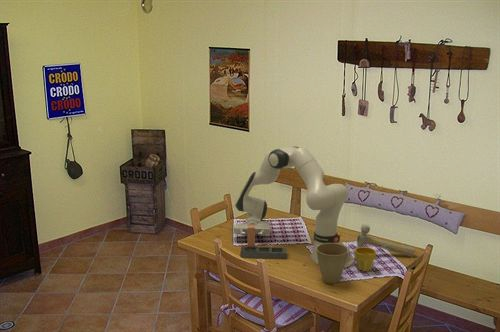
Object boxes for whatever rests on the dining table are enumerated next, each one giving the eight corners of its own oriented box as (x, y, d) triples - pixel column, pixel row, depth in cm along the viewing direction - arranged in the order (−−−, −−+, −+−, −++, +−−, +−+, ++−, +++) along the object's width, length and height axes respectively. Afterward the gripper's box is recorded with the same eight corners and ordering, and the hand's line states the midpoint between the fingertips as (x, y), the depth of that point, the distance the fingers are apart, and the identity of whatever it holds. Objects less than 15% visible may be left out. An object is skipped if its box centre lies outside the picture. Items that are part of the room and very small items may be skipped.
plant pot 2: (361, 262, 279) (362, 244, 276) (378, 269, 272) (380, 251, 269) (349, 268, 272) (350, 250, 270) (366, 275, 265) (368, 256, 262)
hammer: (417, 237, 287) (361, 223, 288) (418, 241, 283) (362, 226, 283) (407, 264, 291) (353, 249, 292) (409, 267, 287) (354, 253, 287)
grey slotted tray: (286, 252, 290) (286, 247, 289) (286, 258, 282) (286, 253, 282) (241, 251, 291) (241, 246, 290) (240, 257, 283) (240, 252, 282)
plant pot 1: (329, 270, 270) (331, 240, 266) (353, 281, 259) (355, 249, 255) (308, 278, 261) (309, 247, 257) (331, 290, 249) (333, 258, 245)
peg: (254, 245, 298) (255, 225, 295) (254, 248, 295) (255, 227, 292) (247, 245, 299) (247, 225, 296) (247, 248, 295) (247, 227, 292)
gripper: (234, 219, 309) (232, 228, 296) (270, 220, 308) (270, 229, 295) (234, 230, 311) (232, 239, 297) (270, 231, 310) (270, 240, 296)
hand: (251, 234), depth 296 cm, fingers open, 8 cm apart
